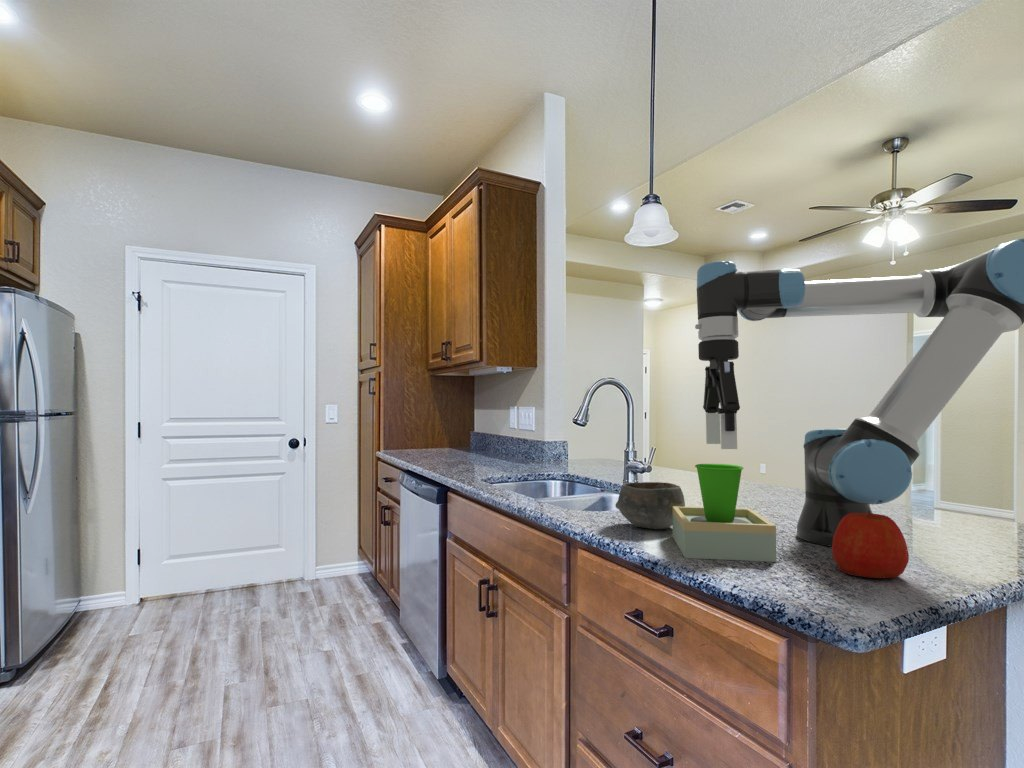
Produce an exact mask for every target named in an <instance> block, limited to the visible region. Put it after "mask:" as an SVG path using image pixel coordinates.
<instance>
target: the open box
mask: <svg viewBox="0 0 1024 768" xmlns="http://www.w3.org/2000/svg"><path fill="white" fill-rule="evenodd" d="M672 509H673V525H672V538H673V540H674V542H675V543H676V545H677V547H678V548H679V550H680V552H681V554H682V556H683V558H685V559H701V560H702V559H705V560H706V559H710V560H723V561H724V560H728V561H745V562H746V561H750V562H770V563H777V526H776V524H774V523H772V522H771V521H770V520H768V519H767V518H765V517H764V516H762V515H761V514H759V512H757V511H755V510H753V509H752V508H739V507H736V510H735V516H734V521H733V523H718V522H707V519H706V518H705V513H704V507H703V506H700V507H699V506H685V507H678V506H672Z"/></svg>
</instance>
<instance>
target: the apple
mask: <svg viewBox="0 0 1024 768" xmlns="http://www.w3.org/2000/svg"><path fill="white" fill-rule="evenodd" d="M831 550H832V551H831V552H832V558H833V561H834V562H835V564H836V565H837V567H838V568H839V570H840V571H841V572H843V573H845V574H847V575H852V576H854V577H862V578H868V579H892V578H898V577H899V576H900V575H902V574H904V572H905V570H906V568H907V566H908V564H909V558H910V557H909V556H910V555H909V549H908V544H907V542H906V539H905V537H904V535H903V533H902V530H901V529H900V527H899V525H898V524H897V523H896V521H894V520H893V519H892V518H891V517H889V516H887V515H885V514H878V513H873V512H872V513H870V511H868V513H849V514H847V515H846V516H844V517H843V518H842V519H841V521H840V522H839V524H838V527H837V529H836V531H835V534H834V536H833V543H832V546H831Z"/></svg>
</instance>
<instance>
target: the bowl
mask: <svg viewBox="0 0 1024 768" xmlns="http://www.w3.org/2000/svg"><path fill="white" fill-rule="evenodd" d="M685 501H686V500H685V496H684V492H683V490H682V488H681V486H680V485H677V484H676V483H669V482H663V481H661V482H660V481H659V482H658V481H657V482H656V481H646V482H645V481H643V482H625V483H622V486H621V488H620V491H619V495H618V499H617V502H616V503H615V505H614V506H615V508H616V509H617V510H619V512H620V513H621V515H622V516H623V517H624V518H625V519H626V520H627V521H628V522H629V523H630V524H631V525H633V526H634V527H638V528H641V529H642V528H643V529H648V530H649V529H650V530H666V529H668V528H670V527H673V509H672V506H678V507H686V502H685Z"/></svg>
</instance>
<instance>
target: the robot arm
mask: <svg viewBox="0 0 1024 768" xmlns="http://www.w3.org/2000/svg"><path fill="white" fill-rule="evenodd" d="M696 275H697V276H696V301H697V302H696V304H697V308H696V309H697V324H695V325H694V328H695V330H698V332H697V333H698V340H700V342H699V343H698V344H697V345H698V359H699V360H700V361H704V362H709V366H705V369H704V370H705V378H704V382H705V383H704V394H703V405H702V409H703V410H704V412H705V436H706V439H705V440H706V445H720V449H721V450H738V427H737V425H738V424H737V412H738V411H740V408H741V406H740V402H739V401H740V400H739V393H738V389H737V384H736V383H737V382H736V375H735V363H734V361H733V360H737V359H738V358H739V357H740V356H739V349H740V348H739V341H738V340H737V338H738V337H739V318H738V317H739V316H738V314H739V315H740V316H741V317H742V318H743V319H745V320H747V321H750V322H758V321H763V320H764V319H777V318H779V319H780V318H795V317H796V318H797V317H826V316H827V317H828V316H849V315H850V316H857V315H886V314H889V315H891V314H914V315H916V316H917V317H918V318H942V319H941V320H940V322H939V324H938V325H937V326H936V327H935V329H934V330H933V331H932V333H931V334H930V335H929V337H928V338H927V339H926V340H925V342H924V343H923V344H922V346H921V347H920V348H919V350H918V351H917V352H916V354H915V355H914V356H913V357H912V358H911V360H910V361H909V363H908V364H907V365H906V366H905V368H904V369H903V370H902V372H901V373H900V375H899V376H898V377H897V378H896V380H895V381H894V382H893V384H892V385H891V386H890V387H889V389H888V390H887V391H886V393H885V394H884V395H883V397H882V398H881V399H880V401H879V402H877V404H876V406H875V407H874V409H873V410H871V412H870V414H869V415H867V416H862V417H855V419H854V420H853V421H852V422H851V424H850V425H848V428H826V429H825V428H824V429H813V430H810V431H807V432H806V433H805V435H804V443H803V449H804V450H803V451H804V488H805V489H804V490H805V493H804V494H805V496H804V497H805V499H804V500H805V501H804V503H803V506H802V509H801V512H800V515H799V517H798V520H797V524H796V536H797V537H798V538H799V539H801V540H803V541H806V542H808V543H813V544H816V545H817V544H818V545H823V546H828V547H832V543H833V536H834V534H835V531H836V529H837V527H838V524H839V522H840V521H841V519H842V518H843V517H844V516H846V515H847V514H849V513H868V511H870V513H873V510H872V509H871V505H882V504H883V505H884V504H886V503H887V504H888V503H889V502H892V501H894V500H896V499H898V498H899V497H901V496H902V495H903V494H904V493H905V492H906V491H907V489H908V488H909V486H910V484H911V482H912V479H913V478H912V476H913V472H912V465H914V463H915V462H916V461H917V459H918V458H919V456H920V455H921V451H920V447H919V445H918V442H919V440H920V439H921V437H923V435H924V434H925V432H926V431H927V430H928V428H930V427H931V425H932V424H933V422H935V420H936V418H937V417H938V416H939V414H940V413H941V412H942V411H943V410H944V409H945V407H946V406H947V404H948V403H949V402H950V401H951V400H952V398H953V397H954V395H955V394H956V393H957V392H958V390H959V389H960V388H961V387H962V386H963V384H964V383H965V381H966V380H967V379H968V377H969V376H970V375H971V374H972V372H973V371H974V370H975V368H976V367H977V366H978V364H979V363H980V362H981V361H982V359H983V358H984V357H986V354H987V353H988V352H989V351H990V349H991V348H992V347H993V346H994V344H995V343H996V341H997V340H998V339H999V338H1000V337H1001V336H1002V334H1004V333H1007V332H1008V333H1009V332H1012V331H1017V330H1019V329H1020V328H1021V326H1022V325H1023V324H1024V238H1018V239H1014V240H1011V241H1006V242H1005V241H1004V242H1002V243H1000V244H998V245H996V246H995V247H993V248H992V249H990V250H987V251H985V252H983V253H981V254H979V255H977V256H974V257H972V258H970V259H967V260H965V261H963V262H959V263H957V264H954V265H951V266H946V267H944V268H942V267H941V268H937V269H925V270H921V271H919V272H918V273H917V274H916V275H908V276H906V275H905V276H902V275H901V276H885V277H883V276H882V277H870V278H869V277H867V278H847V279H846V278H845V279H830V280H829V279H827V280H811V281H810V280H809V281H805V275H804V273H803V271H802V270H801V269H798V268H780V269H778V268H777V269H768V270H755V271H738V269H737V265H736V263H735V262H733V261H729V260H728V261H724V260H718V261H717V260H716V261H710V262H707V263H704V264H702V265H700V267H699V268H698V269H697V272H696Z"/></svg>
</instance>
